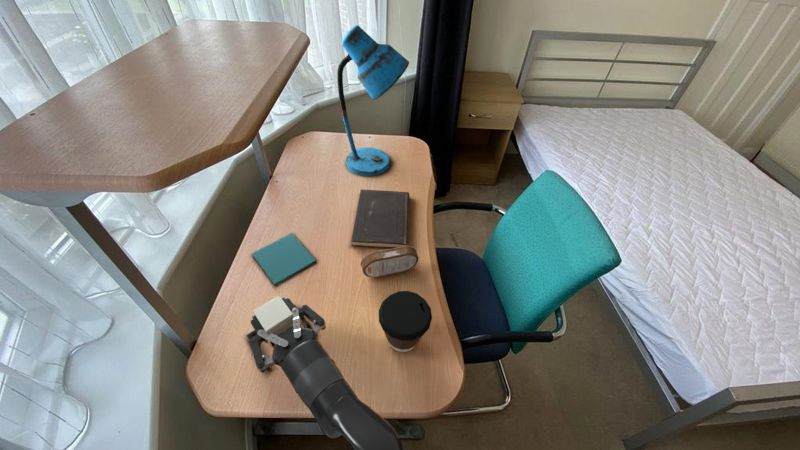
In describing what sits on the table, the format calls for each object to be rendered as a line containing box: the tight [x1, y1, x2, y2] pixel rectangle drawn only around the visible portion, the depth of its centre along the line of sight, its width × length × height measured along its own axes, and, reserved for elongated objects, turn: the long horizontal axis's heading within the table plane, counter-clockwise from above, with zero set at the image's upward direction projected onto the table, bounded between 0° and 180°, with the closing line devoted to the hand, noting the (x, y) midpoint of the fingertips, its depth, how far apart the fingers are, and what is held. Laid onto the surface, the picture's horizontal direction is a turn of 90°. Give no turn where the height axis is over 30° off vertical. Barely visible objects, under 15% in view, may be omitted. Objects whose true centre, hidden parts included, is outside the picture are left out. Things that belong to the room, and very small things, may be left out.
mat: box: [251, 233, 317, 286], centre depth 88 cm, size 12×13×1 cm
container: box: [252, 295, 293, 336], centre depth 66 cm, size 6×6×9 cm
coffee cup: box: [378, 290, 433, 353], centre depth 69 cm, size 11×11×12 cm
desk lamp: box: [336, 24, 410, 177], centre depth 105 cm, size 16×22×45 cm
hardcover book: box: [350, 188, 410, 249], centre depth 99 cm, size 16×23×2 cm
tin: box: [360, 245, 419, 279], centre depth 83 cm, size 15×3×8 cm, turn 106°
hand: (269, 308), depth 65 cm, fingers closed on container, 5 cm apart
